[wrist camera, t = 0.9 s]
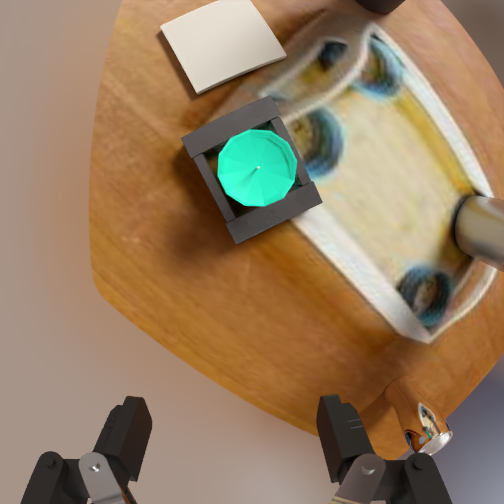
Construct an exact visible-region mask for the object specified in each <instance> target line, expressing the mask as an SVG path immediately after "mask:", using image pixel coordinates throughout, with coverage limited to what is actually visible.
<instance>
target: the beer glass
mask: <svg viewBox="0 0 504 504" xmlns="http://www.w3.org/2000/svg"><path fill="white" fill-rule="evenodd" d="M384 396H385V399H386V400H387V401H388V402H389V403H390V404H391V405H392V406H393V408H394V410H395V412H396V415H397V418H398V422H399V425H400V428H401V431H402V434H403V436H404V438H405V440H406V442H407V444H408V446H409V447H410V449H411V450H412V452H413V453H426V454H428V455H430V456H431V455H432V454H434V453H436V452H437V451H439V450H440V449H441V448H443V447H444V446H445V445H446V444H447V443H448V441H449V440H450V439H451V437H452V435H453V432H452V431H451V429H450V427H449V426H448V424H447V422H446V420H445V418H444V417H443V415H442V414H441V413H440V411H439V410H438V409H437V408H436V407H435V406H434V405H433V404H432V403H431V402H430V401H429V400H428V399H426V398H425V397H424V396H423V395H422V394H421V393H420V392H419V390H418V389H417V387H416V385H415V382H414V380H413V378H412V377H411V376H402V377H399V378H397V379H395V380H394V381H393V382H392V383H390V384H389V386H388V387H387V388H386V390H385V393H384Z"/></svg>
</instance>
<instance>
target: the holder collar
mask: <svg viewBox="0 0 504 504" xmlns="http://www.w3.org/2000/svg"><path fill="white" fill-rule="evenodd" d="M280 116H281V114H280V112H279V110H278V109H277V107H276V105H275V103H274V101H273V99H272V97H271V96H267V97H265V98H262V99H260V100H258V101H255V102H253V103H251V104H248V105H246V106H244V107H242V108H240V109H237V110H235V111H233V112H231V113H229V114H227V115H225V116H223V117H221V118H218V119H216V120H214V121H212V122H210V123H208V124H207V125H205V126H203V127H201V128H199V129H197V130H195V131H193V132H191V133H189V134H188V135H186V136H184V137H182V138H181V140H182V142H183V144H184V145H185V147H186V149H187V151H188V153H189V155H190V157H191V158H192V159H194V161H195V162H196V164H197V166H198V168H199V170H200V172H201V174H202V176H203V178H204V180H205V182H206V184H207V186H208V188H209V190H210V191H211V193H212V195H213V197H214V199H215V201H216V203H217V205H218V207H219V209H220V211H221V213H222V214H223V216H224V218H225V220H226V226H227V228H228V230H229V232H230V234H231V236H232V238H233V240H234V241H235V243H236V244H238V243H240V242H242V241H244V240H246V239H249V238H251V237H253V236H255V235H257V234H259V233H261V232H263V231H265V230H267V229H269V228H271V227H273V226H275V225H277V224H279V223H281V222H283V221H285V220H287V219H290V218H292V217H294V216H296V215H298V214H300V213H302V212H304V211H306V210H308V209H310V208H312V207H314V206H317V205H319V204H321V203H323V202H322V200H321V198H320V195H319V193H318V191H317V189H316V186H315V184H314V182H313V181H311V180H310V178H309V175H308V173H307V171H306V169H305V167H304V165H303V163H302V161H301V158H300V156H299V154H298V152H297V150H296V148H295V146H294V144H293V142H292V140H291V138H290V136H289V134H288V132H287V130H286V128H285V126H284V124H283V122H282V120H281V118H280ZM267 124H268V126H269V128H270V130H271V131H272V132H273V133H275V134H276V135H278V136H279V137H281V138H282V139H284V140H285V141H286V142H288V144H289V146H290V148H291V150H292V152H293V154H294V156H295V158H296V160H297V167H296V175H295V181H296V183H297V184H298V185H296V186H294V187H292V188H290V189H289V191H288V192H287V194H286V195H285V197H284V198H283V199H280V200H278V201H276V202H274V203H271V204H269V205H267V206H252V207H250V208H248V209H246V210H244V211H242V212H240V213H238V214H236V213H235V211H234V209H233V207H232V205H231V203H230V201H229V199H228V197H227V195H226V194H225V192H224V190H223V188H222V186H221V184H220V182H219V180H218V178H217V176H216V174H215V172H214V170H213V168H212V166H211V164H210V163H209V161H208V159H207V157H206V155H205V154H207V153H209V152H211V151H213V150H215V149H217V148H219V147H221V146H223V145H225V144H227V143H228V141H229V140H230V138H232V137H234V136H236V135H238V134H241V133H243V132H245V131H247V130H250V129H251V130H256V129H258V128H260V127H263V126H265V125H267Z"/></svg>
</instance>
